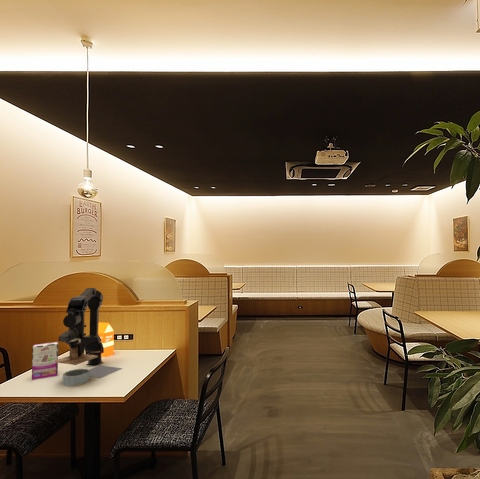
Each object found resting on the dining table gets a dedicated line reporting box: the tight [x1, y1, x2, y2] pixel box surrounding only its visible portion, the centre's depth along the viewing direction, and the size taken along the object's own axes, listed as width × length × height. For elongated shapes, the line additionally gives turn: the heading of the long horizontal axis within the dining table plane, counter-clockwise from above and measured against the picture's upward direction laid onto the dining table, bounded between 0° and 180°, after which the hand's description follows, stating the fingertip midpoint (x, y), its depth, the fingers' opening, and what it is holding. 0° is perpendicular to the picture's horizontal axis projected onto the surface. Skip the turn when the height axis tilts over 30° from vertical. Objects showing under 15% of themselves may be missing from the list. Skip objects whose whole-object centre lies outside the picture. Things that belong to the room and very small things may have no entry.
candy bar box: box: [31, 341, 59, 381], centre depth 164 cm, size 11×5×16 cm, turn 118°
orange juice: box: [98, 321, 115, 358], centre depth 201 cm, size 8×9×20 cm
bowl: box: [62, 368, 90, 387], centre depth 155 cm, size 11×11×4 cm
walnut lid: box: [55, 346, 98, 366], centre depth 156 cm, size 13×13×6 cm
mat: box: [88, 364, 123, 379], centre depth 169 cm, size 16×16×1 cm
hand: (77, 356), depth 156 cm, fingers closed on walnut lid, 3 cm apart
